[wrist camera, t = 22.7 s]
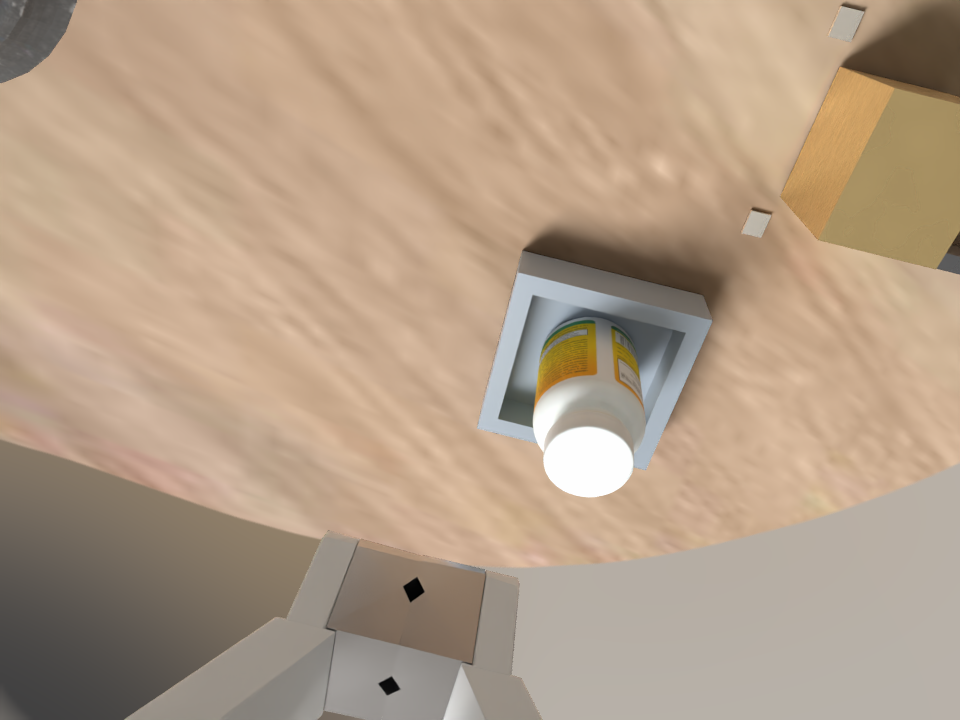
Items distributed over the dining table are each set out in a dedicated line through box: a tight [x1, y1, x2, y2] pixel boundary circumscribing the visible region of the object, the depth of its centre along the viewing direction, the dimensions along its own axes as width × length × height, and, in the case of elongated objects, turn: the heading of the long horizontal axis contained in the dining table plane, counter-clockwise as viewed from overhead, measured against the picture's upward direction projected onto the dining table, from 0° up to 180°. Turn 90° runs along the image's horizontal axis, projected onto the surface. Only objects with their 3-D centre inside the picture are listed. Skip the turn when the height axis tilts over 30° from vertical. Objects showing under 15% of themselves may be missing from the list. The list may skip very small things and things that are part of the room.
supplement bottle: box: [533, 317, 646, 497], centre depth 34 cm, size 5×5×10 cm
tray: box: [477, 251, 713, 470], centre depth 37 cm, size 10×10×3 cm
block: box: [780, 67, 960, 269], centre depth 29 cm, size 6×5×6 cm
